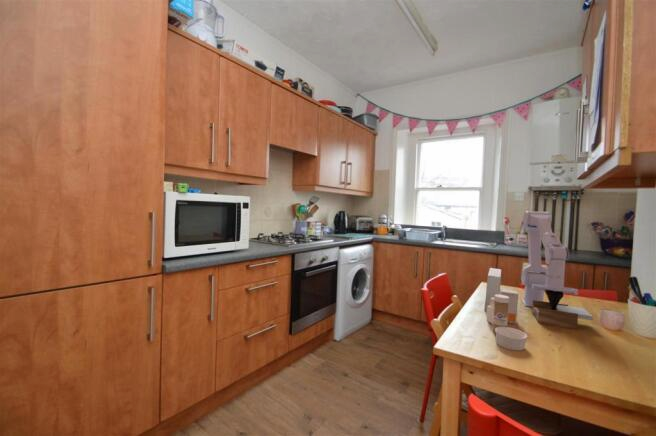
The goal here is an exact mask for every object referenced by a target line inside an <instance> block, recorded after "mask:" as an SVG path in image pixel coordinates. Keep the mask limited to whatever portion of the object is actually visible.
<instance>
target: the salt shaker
mask: <svg viewBox="0 0 656 436" xmlns="http://www.w3.org/2000/svg"><path fill="white" fill-rule="evenodd" d="M490 303H491V305H490V306H488V307H487V311H486V321H487V322H488V323H490V324H492V325H493V319H494V305H495V300H494V298H491V301H490Z"/></svg>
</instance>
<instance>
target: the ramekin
mask: <svg viewBox="0 0 656 436" xmlns="http://www.w3.org/2000/svg"><path fill="white" fill-rule="evenodd" d="M495 332H496V333H495V341H496V343H497V345H499V346H500V347H502V348H503V349H506V350H507V349H508V350H510V351H511V350H512V351H515V352H516V351H518V352H519V351H523V350H525V348H526V342H527V339H528V334H527V333H525V332H524V331H521V330H519V329H517V328H515V327H514V328H513V327H509V326H507V327H497V328H495Z"/></svg>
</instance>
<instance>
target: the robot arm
mask: <svg viewBox="0 0 656 436" xmlns="http://www.w3.org/2000/svg"><path fill="white" fill-rule="evenodd" d="M552 219H553V216H552V213H551V212H550V211H530V210H526V211H525V212H524V213H523V216H522V222H523V223H522V224H523V225H522V226H523V229H524V230H526V232H527V233H526V234H527V244H528V245H527V247H528V249H527V251H528V265H526V266H524V267H523V268H522V269H521V277H520V279H521V282H522V284H523V285H524V290H523V291H524V292H523V293H524V294H523V296H524V297H523V299H521V302H522V303H523V305H524V306H525V307H529V308H532V305H533V300H536V301H543V302H544V299H545V298H544V296H545V294H546V296H547V299H548V302H549V303H550V309H551V310H556V307H557V305H558V304H560V301H561V300H562V299H563V298H564V296H565V295H564V294H571V295H575V296H578V295H579V290H578V289H577V288H573V287H565V286H564V283H565V270H566V262H568V260H569V258H570V257H569V256H570V254H569V253H570V252H569V248H568V247H567V246H565V245H564V244H562V243H561V240H560V239H559V236H558V235H557V234H556V233H555V232H554V233H553V229H552V226H551V223H552ZM541 235H542V236H541ZM541 242H542V245H543V248H544V258H545V261H544V262H545V264H546V268H545V267H544V266H543V265H542V249H541V248H542V247H541Z"/></svg>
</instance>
